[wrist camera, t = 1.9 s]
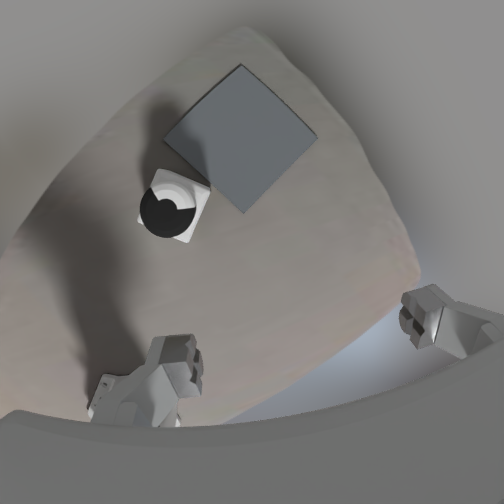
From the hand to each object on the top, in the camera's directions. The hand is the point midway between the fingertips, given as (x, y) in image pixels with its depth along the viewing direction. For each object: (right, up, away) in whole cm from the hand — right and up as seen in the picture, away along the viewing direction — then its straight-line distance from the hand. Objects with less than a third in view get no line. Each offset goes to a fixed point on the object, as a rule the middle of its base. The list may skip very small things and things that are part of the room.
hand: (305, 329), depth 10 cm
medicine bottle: (-12, +10, +30) cm, 34 cm away
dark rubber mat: (-3, +19, +28) cm, 35 cm away
